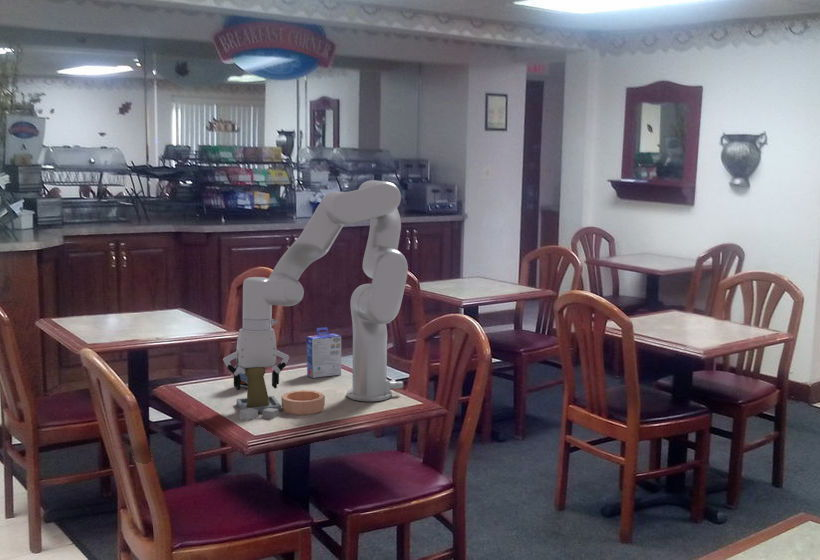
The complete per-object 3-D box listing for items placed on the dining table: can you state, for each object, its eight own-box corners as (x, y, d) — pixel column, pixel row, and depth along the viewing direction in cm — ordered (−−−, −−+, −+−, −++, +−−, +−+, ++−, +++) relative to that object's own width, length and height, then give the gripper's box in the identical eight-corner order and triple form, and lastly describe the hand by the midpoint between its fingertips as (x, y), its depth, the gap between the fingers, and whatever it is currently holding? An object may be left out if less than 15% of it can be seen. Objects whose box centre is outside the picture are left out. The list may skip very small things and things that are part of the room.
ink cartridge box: (335, 371, 270) (335, 325, 268) (342, 375, 266) (342, 328, 264) (305, 374, 266) (305, 328, 264) (312, 378, 261) (312, 331, 259)
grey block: (278, 416, 223) (278, 409, 223) (273, 419, 221) (273, 411, 221) (267, 415, 224) (267, 407, 224) (262, 417, 222) (262, 410, 222)
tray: (273, 401, 236) (273, 395, 236) (281, 411, 227) (281, 405, 227) (236, 404, 233) (236, 398, 233) (242, 414, 224) (242, 409, 223)
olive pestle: (259, 409, 226) (255, 369, 224) (241, 406, 229) (238, 366, 227) (274, 402, 231) (270, 362, 229) (257, 399, 234) (253, 360, 232)
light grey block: (251, 415, 223) (250, 407, 223) (257, 418, 222) (257, 409, 221) (239, 419, 221) (239, 410, 220) (246, 421, 219) (246, 412, 219)
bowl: (318, 401, 237) (318, 389, 236) (328, 412, 226) (328, 399, 226) (278, 404, 233) (278, 392, 232) (287, 416, 223) (287, 403, 222)
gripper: (286, 321, 233) (285, 382, 236) (221, 322, 227) (221, 386, 229) (292, 326, 226) (291, 389, 229) (225, 328, 220) (225, 393, 222)
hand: (256, 388), depth 229 cm, fingers open, 9 cm apart
